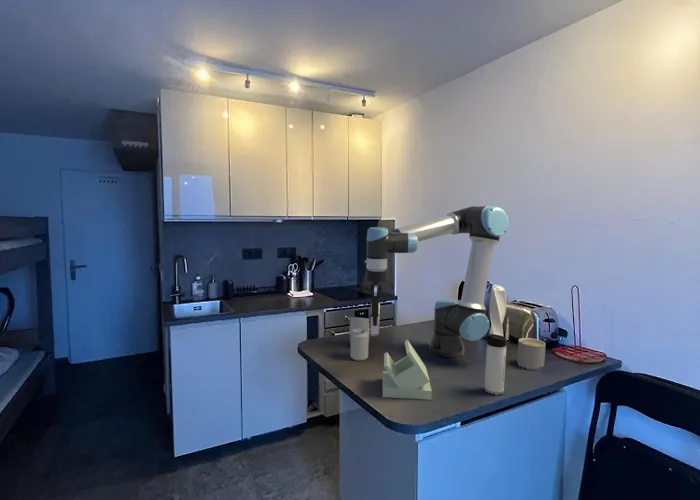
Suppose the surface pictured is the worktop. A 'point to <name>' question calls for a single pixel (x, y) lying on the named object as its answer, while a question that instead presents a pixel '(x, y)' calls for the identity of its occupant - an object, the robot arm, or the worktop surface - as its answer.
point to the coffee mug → (531, 353)
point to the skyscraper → (498, 311)
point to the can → (359, 344)
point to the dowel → (378, 329)
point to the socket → (406, 377)
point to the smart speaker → (358, 325)
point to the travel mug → (495, 364)
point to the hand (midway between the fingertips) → (374, 332)
